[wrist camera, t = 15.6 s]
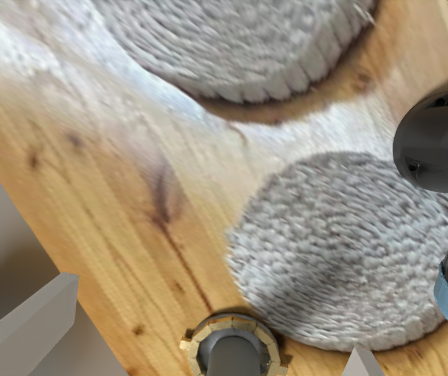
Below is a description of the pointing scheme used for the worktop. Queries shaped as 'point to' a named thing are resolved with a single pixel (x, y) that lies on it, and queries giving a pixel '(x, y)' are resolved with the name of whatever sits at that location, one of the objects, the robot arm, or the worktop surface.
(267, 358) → the collar
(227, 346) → the water bottle
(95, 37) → the worktop surface
